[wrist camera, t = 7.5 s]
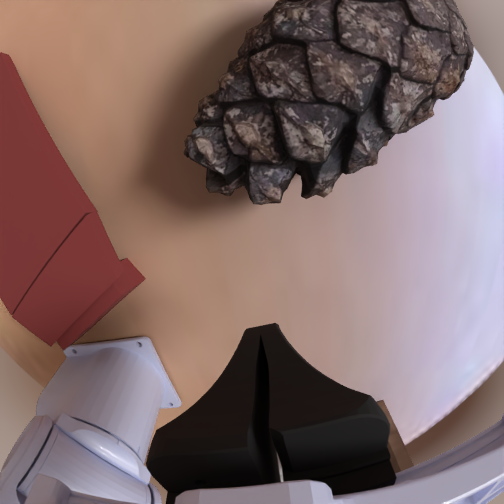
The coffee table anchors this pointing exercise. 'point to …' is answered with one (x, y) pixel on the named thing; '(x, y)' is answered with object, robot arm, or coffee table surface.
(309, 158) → the pine cone
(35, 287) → the carton
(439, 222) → the coffee table surface
